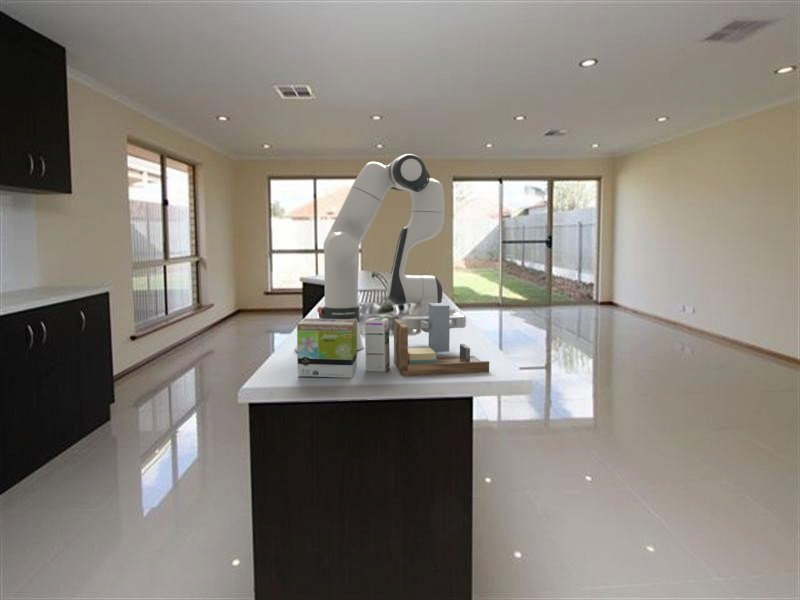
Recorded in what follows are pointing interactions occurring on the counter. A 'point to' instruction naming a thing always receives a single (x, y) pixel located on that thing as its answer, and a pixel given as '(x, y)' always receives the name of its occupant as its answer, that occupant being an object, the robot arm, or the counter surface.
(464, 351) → the bookend
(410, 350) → the book stack
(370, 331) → the syrup box
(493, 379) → the counter surface
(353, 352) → the tea box
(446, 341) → the light blue upright block
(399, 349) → the shelf
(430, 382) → the counter surface
